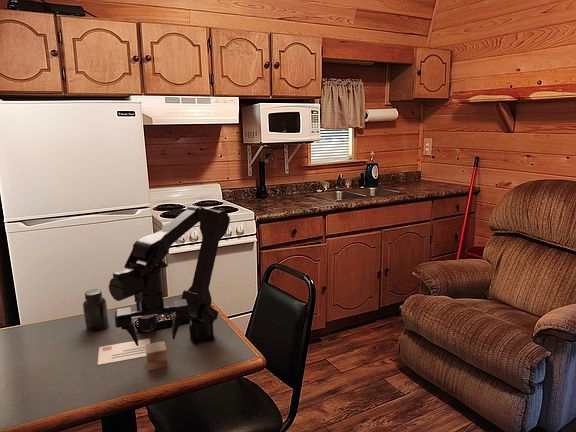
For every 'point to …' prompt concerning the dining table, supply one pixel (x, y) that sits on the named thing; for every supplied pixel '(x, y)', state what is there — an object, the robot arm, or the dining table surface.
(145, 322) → the beverage can
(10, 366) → the dining table surface
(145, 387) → the dining table surface
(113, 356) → the letter
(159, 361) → the walnut block
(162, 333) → the dining table surface
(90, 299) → the supplement bottle
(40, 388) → the dining table surface
